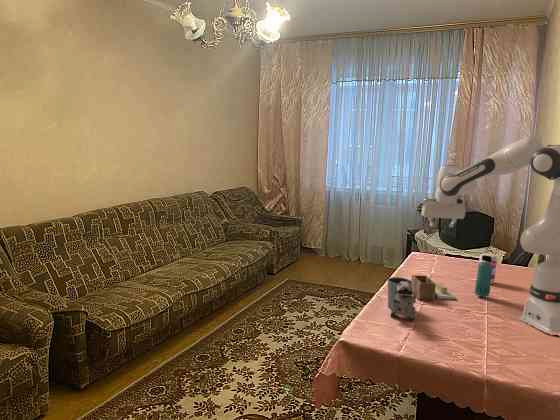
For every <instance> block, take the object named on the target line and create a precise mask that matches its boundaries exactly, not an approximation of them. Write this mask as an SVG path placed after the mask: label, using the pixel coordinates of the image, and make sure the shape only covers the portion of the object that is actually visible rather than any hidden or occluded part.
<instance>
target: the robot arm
mask: <svg viewBox="0 0 560 420" xmlns="http://www.w3.org/2000/svg"><path fill="white" fill-rule="evenodd" d="M528 166H530V168H531V169H532V170H533V172H534V173H536V174H538V175H540V176H542V177H544V178H546V179H547V180H551V181H553V188H552V191H551V194H550V198H549V201H548V204H547V207H546V209H545V212H544V213H543V215H542V216H541V217H540V218H539V219H538V220H537V221H536V222H535V223H534V224H533V225H532V226H531V225H530V227H528V228H525V229H524V230H523V231H522V233H521V235H520V240H519V241H520V246H521V247H522V249H523V250H524V251H525V252H527V253H531V254H535V255H541V256H543V255H544V256H548V257H547V259H545V260H544V261H543V262H541V263H538V264H537V265H536V266H535V268H534V270H533V274H532V282H531V284H530V288H529V296H528V297H527V299H526V300H525V304H524V308H523V311H522V315H520V316H519V318H518V319H519V320H520V321H522V322H524V323H525V322H526V323H525V324H527V323H528V324H527V325H529V326H530V325H532V326H534V327H536V328H538V329H540V330H542V331H544V332H547V333H552V332H556V333H557V334H558V333H559V332H560V144H548V145H546V146H545V145H543V143H542V142H541V141H540V140H539V139H538V138H536V137H534V136H526V137H524V138H521V139H518V140H516V141H514V142H512V143H510V144H508V145H506V146H504V147H503V148H501V149H499V150H497V151H496V152H494V153H493V154H491V155H489V156H487V157H485V158H484V159H482V160H480V161H478V162H476V163H474V164H472V165H470V166H468V167H466V168H463V169H462V170H461V169H460V168H459V167H458V165H455V164H453V165H452V164H450V165H449V164H448V165H443V166H441V167H440V168H439V171H438V174H437V179H436V185H437V188H436V190H435V197H431V198H430V197H426V198H424V199H423V200H422V209H421V213H420V214H421V216H423V218H427V219H428V221H429V227H433V228H434V227H435V222H433V219H434V218H435V219H451V222H450V223H448V227H449V228H453V229H454V225H455V223H457V219H459V220H464V218H465V216H466V206H465V203H466V200H465V199H463V198H460V197H459V196H465V195H470V194H473V193H474V191H475V190H476V189H477V185H478V184H477V180H478V179H481V178H485V177H490V176H504V175H508V174H512V173H514V172H518V171H520V170H522V169H523V168H525V167H528ZM532 326H531V327H532ZM534 327H533V328H534ZM536 328H535V329H536ZM538 329H537V330H538ZM540 330H539V331H540ZM552 334H555V333H552Z"/></svg>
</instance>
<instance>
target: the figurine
mask: <svg viewBox="0 0 560 420" xmlns="http://www.w3.org/2000/svg"><path fill="white" fill-rule="evenodd" d="M413 294H414V292H413V288H412V287H411V286H410V284H409V283H408V282H405V281H401V282H400V283H399V285H398V286H397V291H396V296H395V297H394V299H393V302H394V303H393V304H392V305H391V309H390V310H391V313H390V317H391V318H394V317H395V315H398V316H403V317H409V316H410V318H409V322H412V323H413V322H414V320H415V319H416V307H414V305H415V303H416V301H417V298H416V295H415V294H414V295H413Z"/></svg>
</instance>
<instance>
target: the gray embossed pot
mask: <svg viewBox="0 0 560 420" xmlns="http://www.w3.org/2000/svg"><path fill="white" fill-rule="evenodd" d="M411 280H412V279H408V278H405V277H400V276H399V277H398V276H394V277H389V278H387V307H388V309H389V310H392V309H391V305H392V304H393V303H394V302H393V299H394V297H395V296H396V291H397V286H398V285H399V283H400V282H401V281H405V282H408V283H409V284H410V286H411V287H412V283H413V282H412V281H411Z"/></svg>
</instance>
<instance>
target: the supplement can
mask: <svg viewBox="0 0 560 420" xmlns="http://www.w3.org/2000/svg"><path fill="white" fill-rule="evenodd" d="M483 255H487V256H491V261H490V262H489V261H483V260H482V256H483ZM497 257H498V256H497V255H496V254H493V253H490V252H483V253H482V252H481V254H480V255H479V259H478V264H479V263H481V262H488V263H491V264H492V266H493V269H492V277H491V284H492V285H493V284H494V283H495V280H496V279H495V278H496V270H497V263H498V258H497ZM491 284H490V286H492V285H491Z"/></svg>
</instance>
